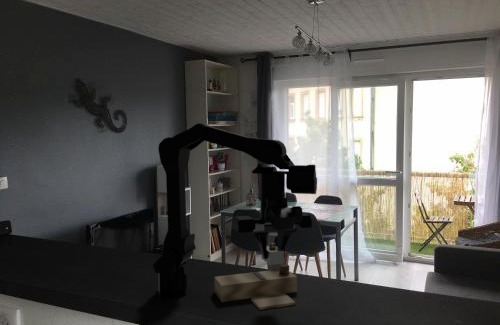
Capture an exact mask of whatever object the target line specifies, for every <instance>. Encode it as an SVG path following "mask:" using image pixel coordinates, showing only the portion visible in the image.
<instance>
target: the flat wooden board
mask: <svg viewBox="0 0 500 325" xmlns="http://www.w3.org/2000/svg"><path fill="white" fill-rule="evenodd" d="M250 301H251V302H252V303H253V304H254V305H255V307H256V308H257V309H258V310H259V311H263V310H267V309H268V310H270V309H275V308H282V307H290V306H296V301H295V300H294V299H292V298H291V297H290V296H289V295H287V293H285V294H277V295H270V296H262V297H255V298H250Z"/></svg>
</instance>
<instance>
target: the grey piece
mask: <svg viewBox="0 0 500 325" xmlns="http://www.w3.org/2000/svg"><path fill="white" fill-rule="evenodd" d="M266 246H267V258H266V259H264V258H263V255H262V254H261V259H262V260H263V261H264V262H265V263H266V264H267V265H268V264H269V265H275V264H284V251H283V250H282V249H280V248H278V247H277V246H276V243H269V246H268V245H266Z"/></svg>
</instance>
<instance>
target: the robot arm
mask: <svg viewBox="0 0 500 325" xmlns="http://www.w3.org/2000/svg"><path fill="white" fill-rule="evenodd" d="M203 142H207V143H208V142H209V143H211V144H215V145H219V146H222V147H226V148H229V149H233V150H236V151H240V152H242V153H245V154H246V155H248V156H249V157H251V158H253V159H255V160H257V161H259V162H261V163H258V164H257V166H256V167H255V168H254V169H253V170H252V171H251V173H252V174H254V175H258V174H259V175H260V195H259V196H258V201H260V212H258V218H254V217H251V216H249V215H239V216H234V217H233V218H232V220H231V229H233V230H234V231H236V232H237V233H241V234H243V233H251V234H253V236H254V238H255V240H256V241H257V244H258V247H259V250H260V253H261V256H262V255H263V258H264V259H266V258H267V246H268V245H267V237H268V232H267V231H266V230H265V227H272V228H273V229H274V230H276V232H277V241H278V248H280V249H282V250H283V251H284V249H285V246H286V247H287V244H288V241H289V239H290V237H291V236H292V235H293V234H294V233H297V232H298V229H297V228H296V225H298V227H300V228H301V229H307V228H313V226H314V222H313V221H314V220H313V218H312V216H311V215H310V214H307V213H305V212H303V208H302V206H301V205H296V206H295V205H294V206H292V207H291V206H289V204H288V198H287V197H285V196H286V195H285V194H286V193H285V192H286V189H287V190H288V191H290V193H291V194H298V195H301V194H302V195H303V194H304V195H305V194H306V195H317V190H318V177H317V169H316V167H317V166H316V164H305V165H303V164H302V165H300V164H299V165H298V164H296V165H295V164H294V163H293V161H292V159H291V158H290V156H289V155H288V154H287V153H288V152H287V147H286V145H285V143H284V142H282V141H280V140H278V139H277V140H276V139H269V138H257V137H256V138H255V137H250V136H247V135H244V134H243V135H242V134H238V133H235V132H232V131H228V130H224V129H221V128H218V127H214V126H210V125H209V124H206V123H200V122H199V123H196V124H193V126H191V127H190V128H188V129H185V130H184V131H181V132H179V133H177V134H175V135H173V136H171V137H170V136H169V137H165V138H164V139H162V140H161V141H160V142H159V144H158V155H159V160H160V163H161V166H162V168H163V169H164V170H163V171H164V172H165V179H166V180H165V182H166V183H165V184H166V185H165V186H166V209H167V210H166V212H167V231H166V234H165V237H164V240H163V243H162V252H161V253H162V254H161V256H160V257H159V258H158V259H157V260H156V261H155V262H154V263H152V266H153V270H154V273H155V274H158V276H157V277H158V278H157V279H158V284H157V285H158V287H157V293H158V296H159V298H163V299H164V298H168V297H169V298H170V297H177V296H186V295H187V291H186V290H187V281H188V280H187V273H186V272H185V268H184V266H186V265H187V263H188V260H189V259H190V258H191V257H192V256H193V255H194V251H195V250H196V249H197V248H196V244H195V239H196V234H195V233H190V232H189V230H188V228H187V207H186V206H187V202H186V170H187V166H188V164H189V161H190V155H191V151H192V150H194V149H196V148H198V146H200V145H201V144H202V143H203ZM265 165H267V166H265ZM268 165H269V166H268ZM272 165H273V166H272ZM277 168H278V169H279V170H277ZM286 170H287V171H286ZM285 187H286V188H285Z"/></svg>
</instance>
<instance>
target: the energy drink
mask: <svg viewBox="0 0 500 325" xmlns="http://www.w3.org/2000/svg"><path fill="white" fill-rule="evenodd" d="M269 243H276V246H277V247H278V241H277V231H272V232H267V246H269ZM284 264H286V265H287V245H286V246H285V249H284ZM279 265H282V264H275V265H269V264H268V263H267V271H270V270H278V269H279Z"/></svg>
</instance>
